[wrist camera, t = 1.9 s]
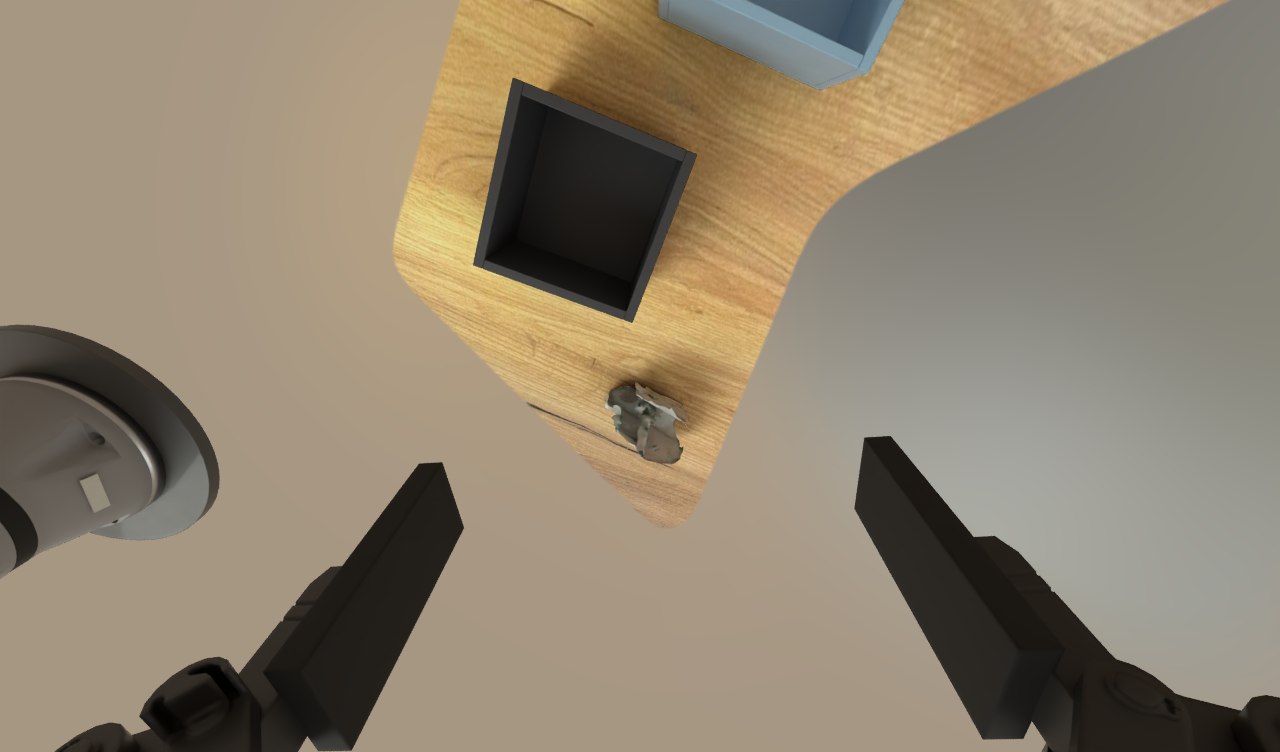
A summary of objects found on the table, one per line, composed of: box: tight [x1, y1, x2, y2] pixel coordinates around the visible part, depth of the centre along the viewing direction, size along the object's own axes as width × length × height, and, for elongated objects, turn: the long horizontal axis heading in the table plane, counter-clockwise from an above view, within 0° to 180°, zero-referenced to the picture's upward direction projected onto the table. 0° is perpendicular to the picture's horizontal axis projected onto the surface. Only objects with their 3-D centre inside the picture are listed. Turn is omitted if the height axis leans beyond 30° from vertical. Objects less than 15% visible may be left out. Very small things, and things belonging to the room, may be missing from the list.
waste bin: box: [473, 78, 697, 323], centre depth 30 cm, size 10×10×8 cm
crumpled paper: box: [604, 382, 689, 464], centre depth 37 cm, size 4×8×7 cm, turn 57°
